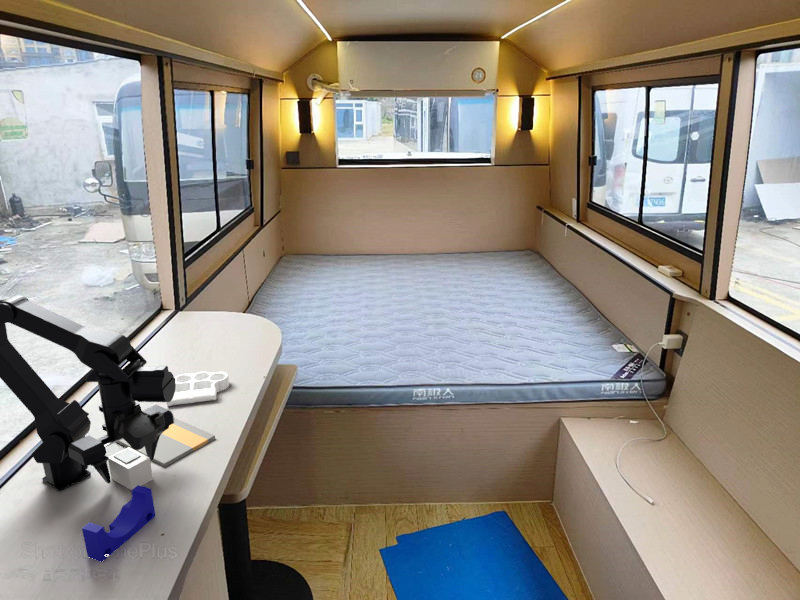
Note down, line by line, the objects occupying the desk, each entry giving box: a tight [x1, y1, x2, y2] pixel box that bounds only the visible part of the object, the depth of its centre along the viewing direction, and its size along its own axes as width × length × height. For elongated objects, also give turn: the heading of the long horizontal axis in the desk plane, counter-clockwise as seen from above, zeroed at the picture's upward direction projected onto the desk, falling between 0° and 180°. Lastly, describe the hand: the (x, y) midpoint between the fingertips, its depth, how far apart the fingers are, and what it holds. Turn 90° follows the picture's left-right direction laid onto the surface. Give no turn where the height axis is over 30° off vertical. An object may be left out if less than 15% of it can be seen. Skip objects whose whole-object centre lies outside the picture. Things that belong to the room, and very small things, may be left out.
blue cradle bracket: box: [81, 485, 156, 563], centre depth 98 cm, size 12×4×6 cm, turn 160°
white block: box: [107, 447, 154, 491], centre depth 114 cm, size 4×7×5 cm, turn 57°
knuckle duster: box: [166, 371, 230, 407], centre depth 150 cm, size 3×18×15 cm
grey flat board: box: [116, 417, 216, 468], centre depth 129 cm, size 13×20×1 cm, turn 57°
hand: (130, 470), depth 114 cm, fingers open, 9 cm apart
